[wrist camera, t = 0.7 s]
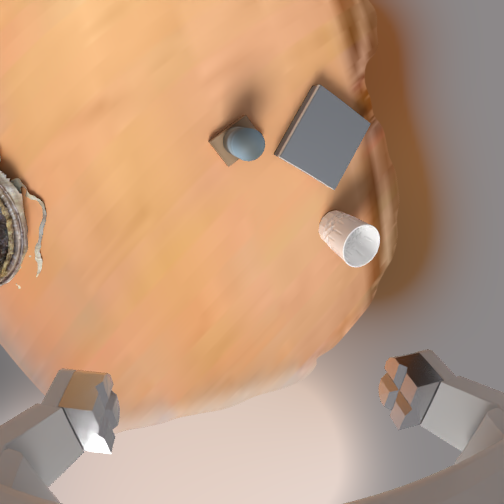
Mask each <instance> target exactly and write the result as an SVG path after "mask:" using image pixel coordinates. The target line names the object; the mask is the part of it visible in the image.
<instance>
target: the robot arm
mask: <svg viewBox="0 0 504 504" xmlns="http://www.w3.org/2000/svg"><path fill="white" fill-rule="evenodd" d="M385 370H386V372H387V373H386V374H385V375H384V376H383V377H382V378H381V381H380V384H379V397H380V400H381V402H382V404H383V406H384V407H386V408H388V409H390V410H391V413H390V417H391V419H392V420H393V422H394V424H395V425H396V427H397V428H398V430H401V429H405V428H409V427H412V426H416V425H419V424H421V426H422V427H424V428H426V429H427V430H429V431H430V432H432V433H434V434H435V435H436V436H438V437H440V438H441V439H443V440H444V441H446V442H448V443H449V444H451V445H452V446H454V447H456V448H457V449H459V450H460V451H462V453H461V454H460V455H459V457H458V458H457V459H456V461H455V464H454V465H453V466H451V467H448V468H446V469H444V470H442V471H439V472H437V473H435V474H433V475H430V476H427V477H425V478H422V479H420V480H417V481H415V482H412V483H410V484H407V485H404V486H401V487H398V488H395V489H393V490H389V491H386V492H383V493H380V494H377V495H374V496H370V497H367V498H363V499H360V500H356V501H352V502H348V503H344V504H504V393H503V392H500V391H498V390H495V389H492V388H490V387H487V386H484V385H482V384H479V383H477V382H474V381H471V380H469V379H467V378H464V377H461V376H457V377H456V376H455V375H454V373H453V372H452V371H451V370H450V369H449V368H448V367H447V366H446V365H445V364H444V363H443V362H442V361H441V360H440V358H439V357H437V355H436V354H435V353H434V352H433V351H431V350H429V349H427V350H423V351H418V352H415V353H411V354H406V355H401V356H396V357H390V358H389V359H388V360H387V362H386V365H385ZM112 387H113V381H112V378H111V375H110V374H108V373H101V372H92V371H83V370H72V369H64V368H62V369H60V370H59V371H58V373H57V375H56V377H55V378H54V380H53V382H52V384H51V386H50V388H49V390H48V392H47V394H46V396H45V398H44V400H43V402H42V404H35V405H34V406H32V407H30V408H29V409H27V410H25V411H24V412H22V413H21V414H19V415H17V416H16V417H14V418H12V419H11V420H9V421H7V422H6V423H4V424H3V425H1V426H0V504H61V503H60V502H59V500H58V499H57V498H56V497H55V495H54V494H53V493H52V492H51V491H50V490H49V488H48V487H49V486H50V485H51V484H52V483H53V482H54V481H55V480H56V479H57V478H58V477H59V476H60V475H61V474H62V473H64V471H65V470H66V469H68V467H70V466H71V465H72V464H73V463H74V462H75V461H76V460H77V458H79V457H80V455H82V454H83V453H84V451H90V452H98V453H108V454H111V451H112V447H113V443H114V439H115V435H114V433H113V429H114V428H115V427H116V426H117V425H118V422H119V415H120V407H119V401H118V398H117V395H116V394H115V393H114V392H113V391H112Z"/></svg>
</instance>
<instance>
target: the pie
mask: <svg viewBox="0 0 504 504" xmlns="http://www.w3.org/2000/svg"><path fill="white" fill-rule="evenodd" d="M0 161H1V158H0ZM9 180H10V178H6V175H5V176H4V173H2V171H0V286H2V285H4V284H6V283H8V282H10V281H11V280H12V279H13V277H14V276H15V275H16V273H17V272H18V271H19V270H20V268H21V264H22V261H23V259H24V257H25V254H26V252H27V250H28V238H27V232H28V227H27V224H26V218H25V214H24V208H23V199H22V192H21V189H20V188H21V186H24V187H25V189H26V190H27V188H26V186H25V185H24V184H23V183H22V182H21V180H20V179H19V178H15V179H13V180H11V181H9ZM26 197H28V198H30V199H32V200H37V201H38V202H39V203H40V205H41V206H42V209H43V219H42V222H41V224H40V227H39V240H38V243H37V244H36V246H35V260H36V261H37V263H38V272H37V275H36V276H38V275H39V273H40V271H41V269H42V258H41V254H40V252H39V251H40V248H41V239H42V235H43V228H44V225H45V222H46V210H45V206H44V203H43V202H42V201H41V200H40V199H39V198H36V197H35V196H33V195H30V194H29V193H28V191H27V192H26ZM29 257H31V256H30V255H29ZM36 278H37V277H36ZM16 285H17V283H16ZM17 286H18V285H17ZM18 288H19V289H20V286H18Z"/></svg>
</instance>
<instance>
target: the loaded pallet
mask: <svg viewBox="0 0 504 504" xmlns="http://www.w3.org/2000/svg"><path fill="white" fill-rule="evenodd" d="M208 142H209V143H210V144H211V146H212V147H213V148H214V149H215V151H216V152H217V153H218V155H219V156H220V157H221V158H222V160H223V161H224V162H225V164H226V165H227V166H228V167H229V166H231V165H232V164H233V163H234V162H236V161H237V160H238V159H242V160H244V161H252V160H255V159H257V158H258V157H260V156H261V154H262V153H263V151H264V148H265V140H264V138H263V136H262V134H261V133H260V132H259V131H257V130H256V129H255V127H254V126H253V124H252V123H251V122H250V120H249V119H248V117H247V116H246V115H243V116H242V117H240V118H239V119H238V120H236V121H235V122H234V123H232V124H231V125H229V126H228V127H227V128H225V129H224V130H223V131H221V132H220V133H219V134H217V135H216V136H215V137H214V138H212V139H211V140H210V141H208Z"/></svg>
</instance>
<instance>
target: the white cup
mask: <svg viewBox="0 0 504 504" xmlns="http://www.w3.org/2000/svg"><path fill="white" fill-rule="evenodd" d="M319 234H320V237H321V239H322V240H324V241H325V242H326V243H327V244H328V246H329V247H330V248H331V249H332V250H333V251H334V252H335V253H336V254H337V255H338V256H339V257H340V258H342V259H343V260H344V261H345V262H346V263H347V264H348V265H349V266H352V267H361V266H363V265H365V264H367V263H368V262H370V261H371V260H372V259H373V257H374V256H375V255H376V253H377V251H378V248H379V244H380V236H379V232H378V231H377V229H376V228H375V227H374V226H372V225H370V224H368V223H366V222H364V221H362V220H360V219H358V218H356V217H354V216H351V215H349V214H346V213H344V212H342V211H338V210H334V211H331V212H328V213H327V214H326V215H325V216H324V217H323V218H322V220H321V222H320V224H319Z"/></svg>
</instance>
